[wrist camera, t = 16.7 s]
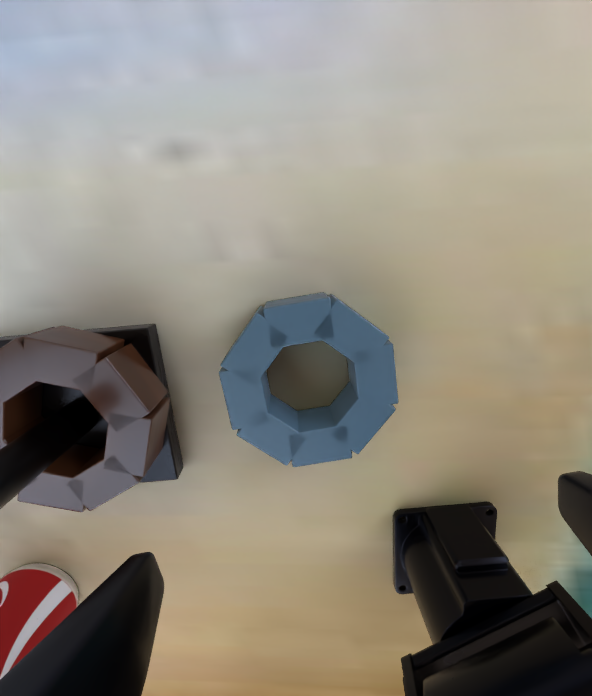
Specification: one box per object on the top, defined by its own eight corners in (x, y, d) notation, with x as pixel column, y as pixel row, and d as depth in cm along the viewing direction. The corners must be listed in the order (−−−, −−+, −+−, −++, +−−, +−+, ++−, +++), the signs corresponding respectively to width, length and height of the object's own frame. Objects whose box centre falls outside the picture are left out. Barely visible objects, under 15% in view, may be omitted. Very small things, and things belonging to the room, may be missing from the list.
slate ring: (248, 449, 21) (242, 475, 18) (216, 309, 18) (205, 318, 16) (388, 426, 20) (403, 450, 18) (374, 283, 18) (388, 287, 16)
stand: (183, 467, 21) (106, 624, 12) (37, 480, 21) (-150, 646, 12) (156, 323, 18) (34, 384, 10) (-9, 337, 18) (-284, 412, 10)
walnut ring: (156, 489, 20) (137, 522, 17) (2, 460, 19) (-42, 491, 17) (178, 350, 18) (160, 365, 15) (5, 312, 17) (-44, 322, 14)
